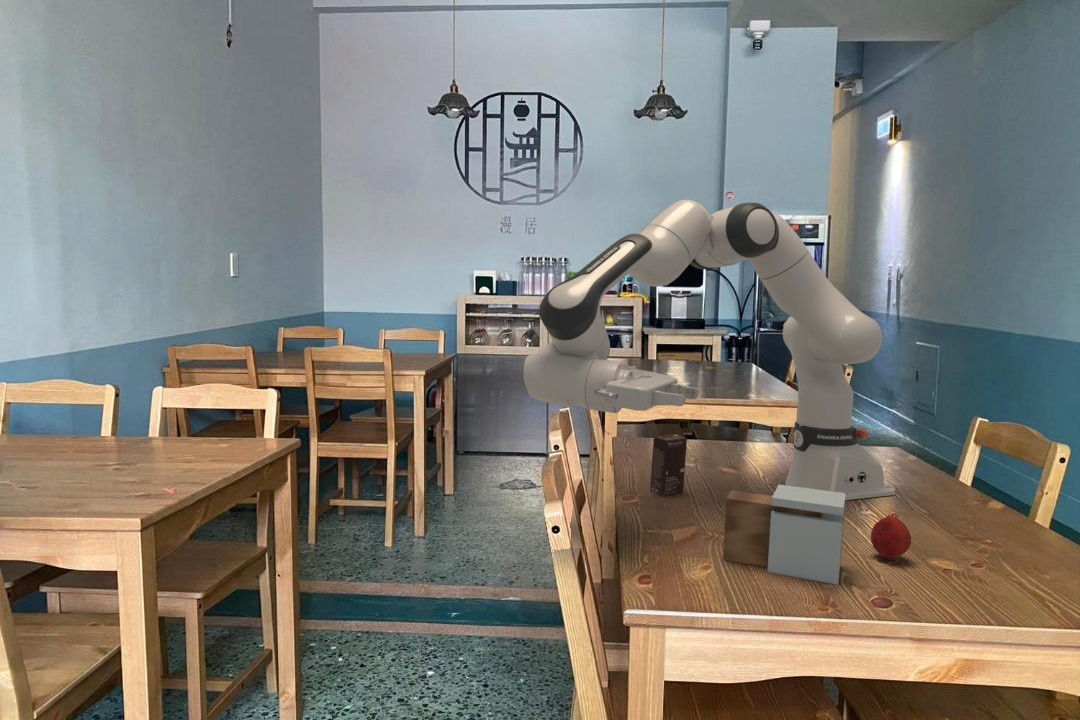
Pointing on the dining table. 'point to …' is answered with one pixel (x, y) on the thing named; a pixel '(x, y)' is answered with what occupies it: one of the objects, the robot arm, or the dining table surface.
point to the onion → (890, 537)
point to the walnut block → (751, 527)
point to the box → (668, 464)
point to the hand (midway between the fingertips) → (691, 397)
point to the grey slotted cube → (807, 534)
